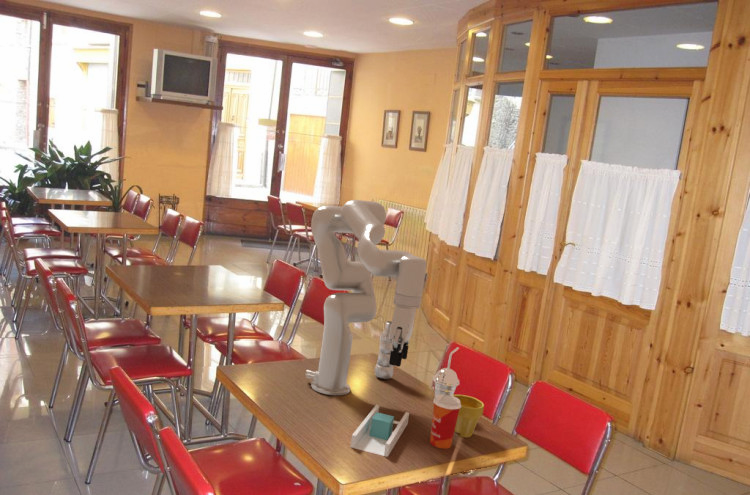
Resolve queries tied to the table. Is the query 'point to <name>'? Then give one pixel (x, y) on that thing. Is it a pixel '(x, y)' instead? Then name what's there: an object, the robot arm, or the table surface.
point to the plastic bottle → (385, 354)
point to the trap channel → (374, 444)
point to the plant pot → (468, 415)
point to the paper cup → (444, 420)
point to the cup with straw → (446, 379)
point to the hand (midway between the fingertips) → (397, 361)
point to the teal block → (381, 426)
